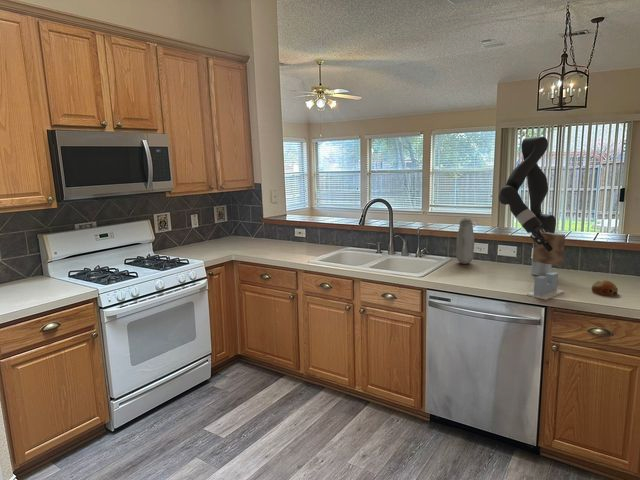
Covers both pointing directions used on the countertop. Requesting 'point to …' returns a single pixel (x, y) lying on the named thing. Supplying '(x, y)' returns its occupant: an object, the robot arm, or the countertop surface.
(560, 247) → the walnut board
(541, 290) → the notched stand
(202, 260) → the countertop surface
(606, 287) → the bread roll
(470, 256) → the grey bottle
